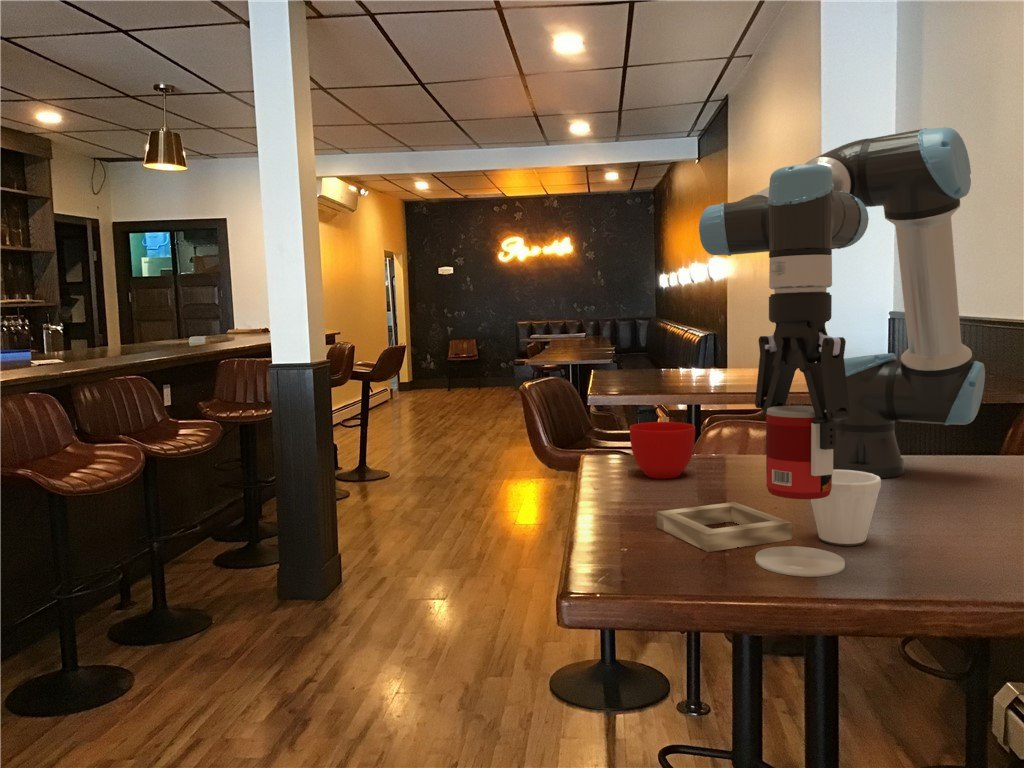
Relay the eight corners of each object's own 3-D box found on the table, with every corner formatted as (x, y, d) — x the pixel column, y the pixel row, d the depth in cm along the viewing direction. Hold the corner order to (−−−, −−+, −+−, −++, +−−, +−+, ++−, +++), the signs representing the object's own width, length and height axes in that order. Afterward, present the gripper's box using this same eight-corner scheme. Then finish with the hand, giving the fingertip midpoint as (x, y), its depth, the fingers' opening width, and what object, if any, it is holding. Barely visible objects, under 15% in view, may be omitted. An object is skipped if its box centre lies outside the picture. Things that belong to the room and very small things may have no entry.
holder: (734, 517, 129) (734, 501, 129) (792, 539, 116) (792, 522, 116) (656, 527, 124) (656, 511, 124) (707, 552, 111) (707, 534, 111)
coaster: (805, 546, 112) (805, 542, 112) (864, 569, 102) (864, 564, 102) (738, 556, 109) (738, 552, 109) (792, 581, 98) (792, 576, 98)
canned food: (837, 500, 100) (837, 412, 99) (769, 499, 101) (769, 412, 101) (826, 487, 107) (826, 405, 106) (763, 486, 109) (763, 405, 108)
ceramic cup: (711, 468, 168) (710, 421, 167) (681, 484, 154) (681, 432, 153) (652, 463, 175) (652, 418, 174) (619, 478, 161) (618, 429, 160)
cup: (874, 554, 108) (875, 486, 107) (797, 545, 113) (797, 480, 112) (885, 535, 116) (886, 472, 116) (812, 527, 122) (813, 467, 121)
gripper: (726, 294, 111) (727, 458, 113) (833, 288, 91) (832, 486, 93) (772, 293, 113) (772, 454, 115) (885, 287, 94) (883, 480, 96)
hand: (799, 468), depth 104 cm, fingers closed on canned food, 8 cm apart
